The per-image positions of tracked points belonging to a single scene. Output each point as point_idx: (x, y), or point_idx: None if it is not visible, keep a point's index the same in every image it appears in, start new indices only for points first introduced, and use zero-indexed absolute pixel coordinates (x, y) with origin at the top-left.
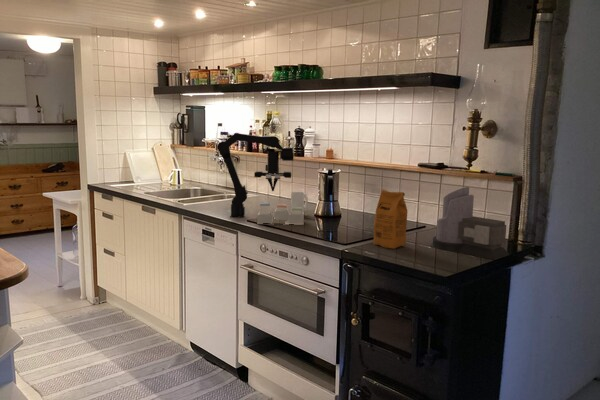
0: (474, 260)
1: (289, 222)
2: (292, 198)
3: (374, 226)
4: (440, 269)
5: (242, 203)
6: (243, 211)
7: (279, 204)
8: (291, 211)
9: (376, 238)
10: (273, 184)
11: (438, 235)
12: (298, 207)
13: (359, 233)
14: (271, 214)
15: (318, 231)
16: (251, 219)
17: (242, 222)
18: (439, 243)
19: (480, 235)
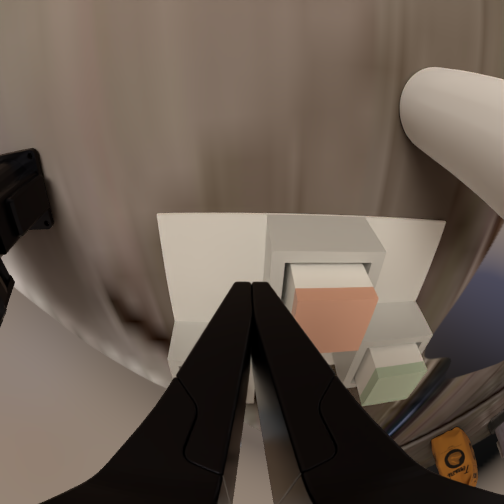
0: (477, 440)
1: (334, 356)
2: (484, 189)
3: (438, 466)
4: (425, 466)
5: (11, 290)
6: (33, 222)
7: (313, 321)
8: (411, 118)
9: (433, 451)
10: (267, 455)
11: (499, 432)
12: (406, 383)
13: (466, 397)
14: (249, 398)
15: (391, 409)
16: (121, 277)
17: (110, 339)
18: (490, 431)
19: (499, 450)
